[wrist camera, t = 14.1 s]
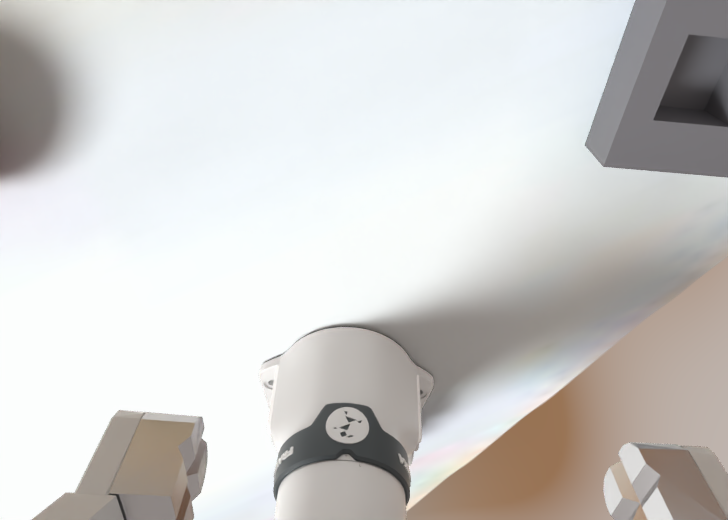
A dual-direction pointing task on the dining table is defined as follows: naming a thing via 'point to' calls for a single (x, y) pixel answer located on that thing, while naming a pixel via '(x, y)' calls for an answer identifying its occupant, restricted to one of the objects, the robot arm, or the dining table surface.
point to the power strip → (667, 91)
